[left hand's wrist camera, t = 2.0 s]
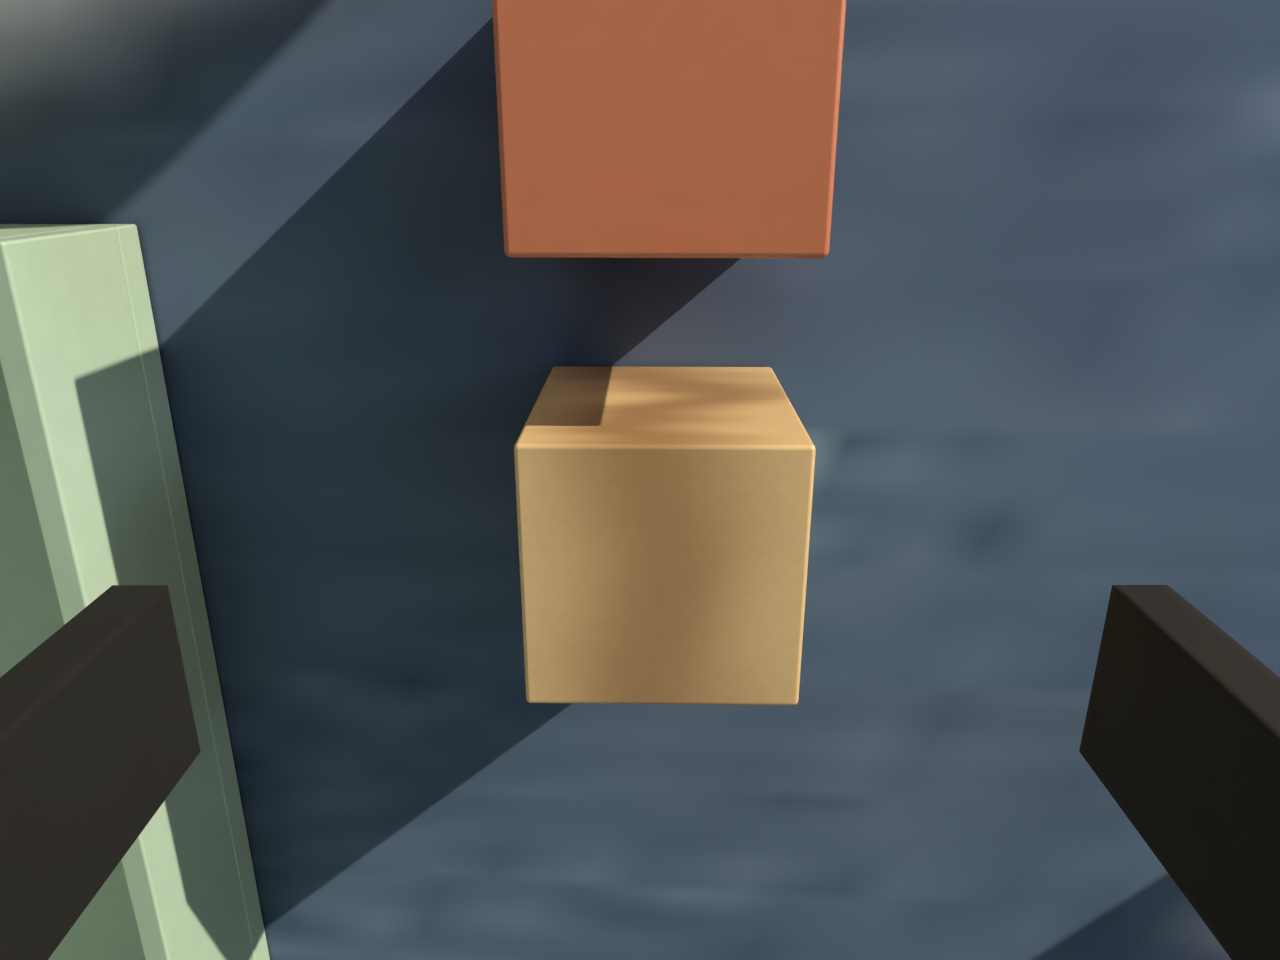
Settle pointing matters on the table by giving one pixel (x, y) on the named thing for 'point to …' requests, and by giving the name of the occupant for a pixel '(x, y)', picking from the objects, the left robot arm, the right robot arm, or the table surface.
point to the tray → (114, 566)
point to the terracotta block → (667, 127)
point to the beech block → (663, 537)
